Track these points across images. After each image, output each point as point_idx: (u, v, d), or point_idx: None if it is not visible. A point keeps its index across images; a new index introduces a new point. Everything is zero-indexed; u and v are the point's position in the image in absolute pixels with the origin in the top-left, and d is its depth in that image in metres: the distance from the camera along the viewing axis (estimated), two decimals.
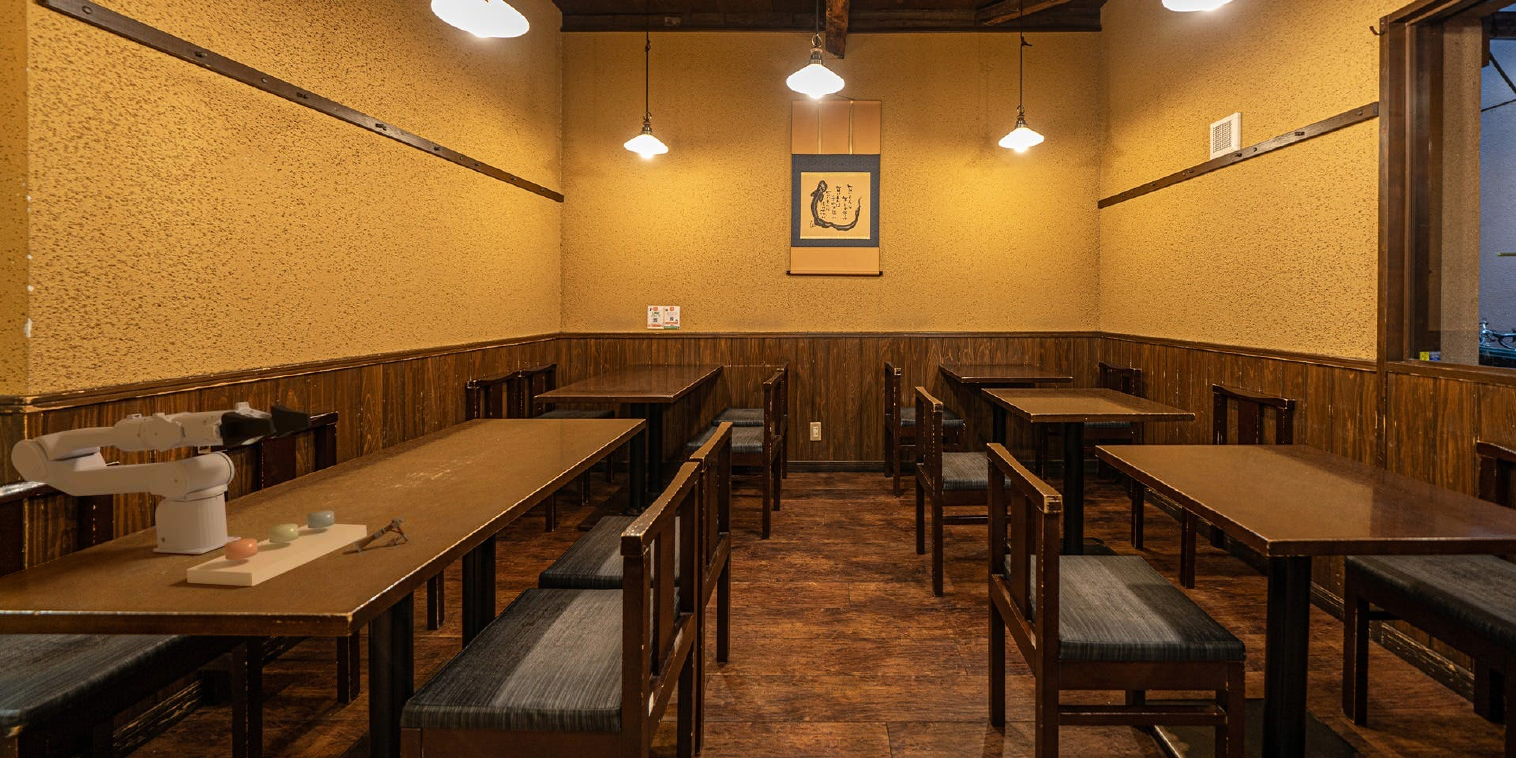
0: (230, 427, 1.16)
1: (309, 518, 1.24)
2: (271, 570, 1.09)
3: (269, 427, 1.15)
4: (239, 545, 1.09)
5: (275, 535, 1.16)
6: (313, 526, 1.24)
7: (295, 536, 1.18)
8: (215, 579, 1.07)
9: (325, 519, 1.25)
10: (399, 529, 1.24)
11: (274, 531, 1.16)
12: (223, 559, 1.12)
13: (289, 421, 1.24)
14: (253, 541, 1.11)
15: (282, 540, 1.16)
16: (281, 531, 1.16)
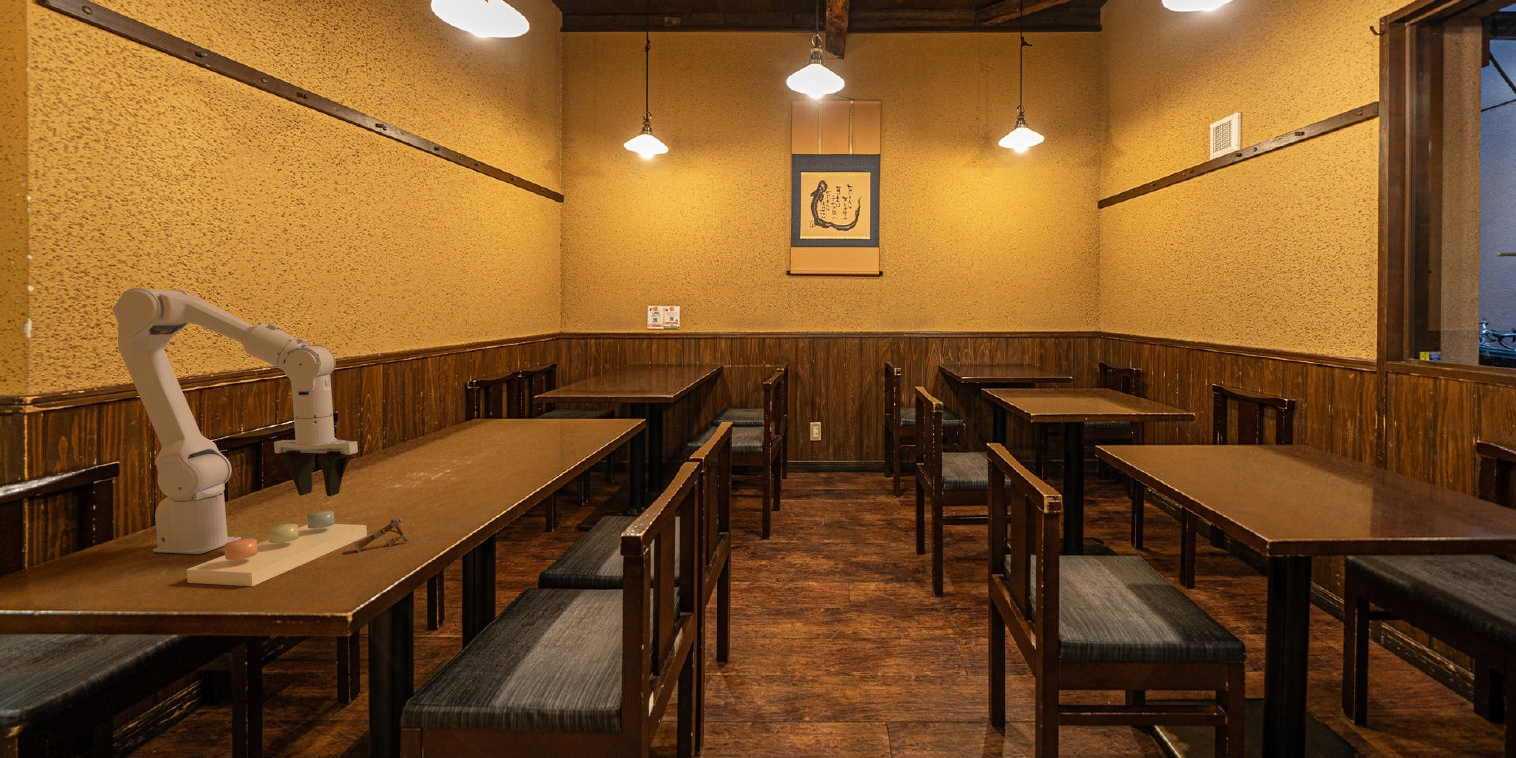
0: None
1: (309, 518, 1.24)
2: (271, 570, 1.09)
3: (334, 494, 1.25)
4: (239, 545, 1.09)
5: (275, 535, 1.16)
6: (313, 526, 1.24)
7: (295, 536, 1.18)
8: (215, 579, 1.07)
9: (325, 519, 1.25)
10: (398, 529, 1.24)
11: (274, 531, 1.16)
12: (223, 559, 1.12)
13: (304, 472, 1.26)
14: (253, 541, 1.11)
15: (282, 540, 1.16)
16: (281, 531, 1.16)
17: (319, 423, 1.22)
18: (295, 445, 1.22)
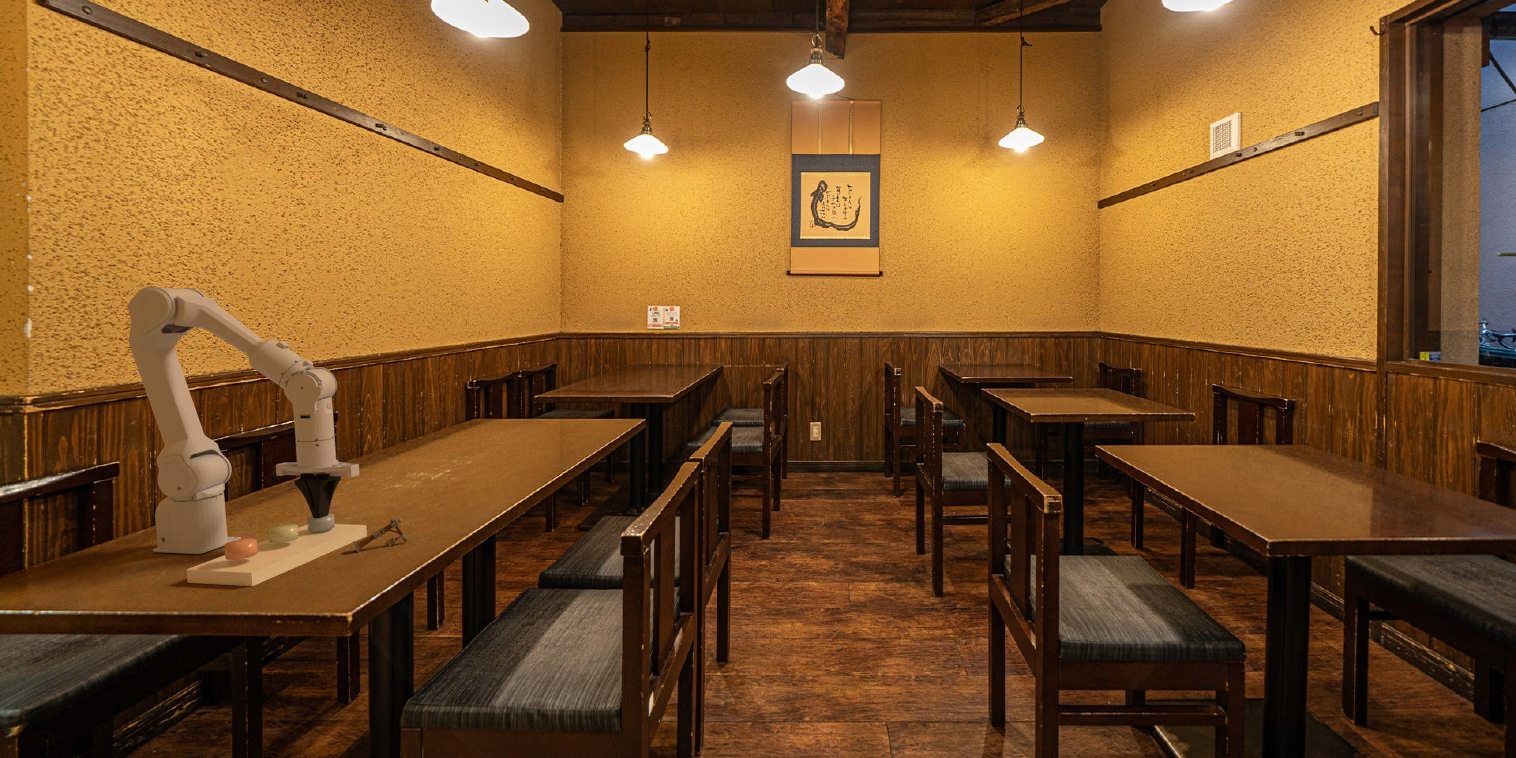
0: None
1: (309, 521, 1.24)
2: (271, 570, 1.09)
3: (324, 516, 1.26)
4: (239, 545, 1.09)
5: (275, 535, 1.16)
6: (313, 529, 1.24)
7: (295, 536, 1.18)
8: (215, 579, 1.07)
9: (325, 522, 1.25)
10: (398, 529, 1.24)
11: (274, 531, 1.16)
12: (223, 559, 1.12)
13: None
14: (253, 541, 1.11)
15: (282, 540, 1.16)
16: (281, 531, 1.16)
17: (321, 446, 1.23)
18: (297, 468, 1.23)
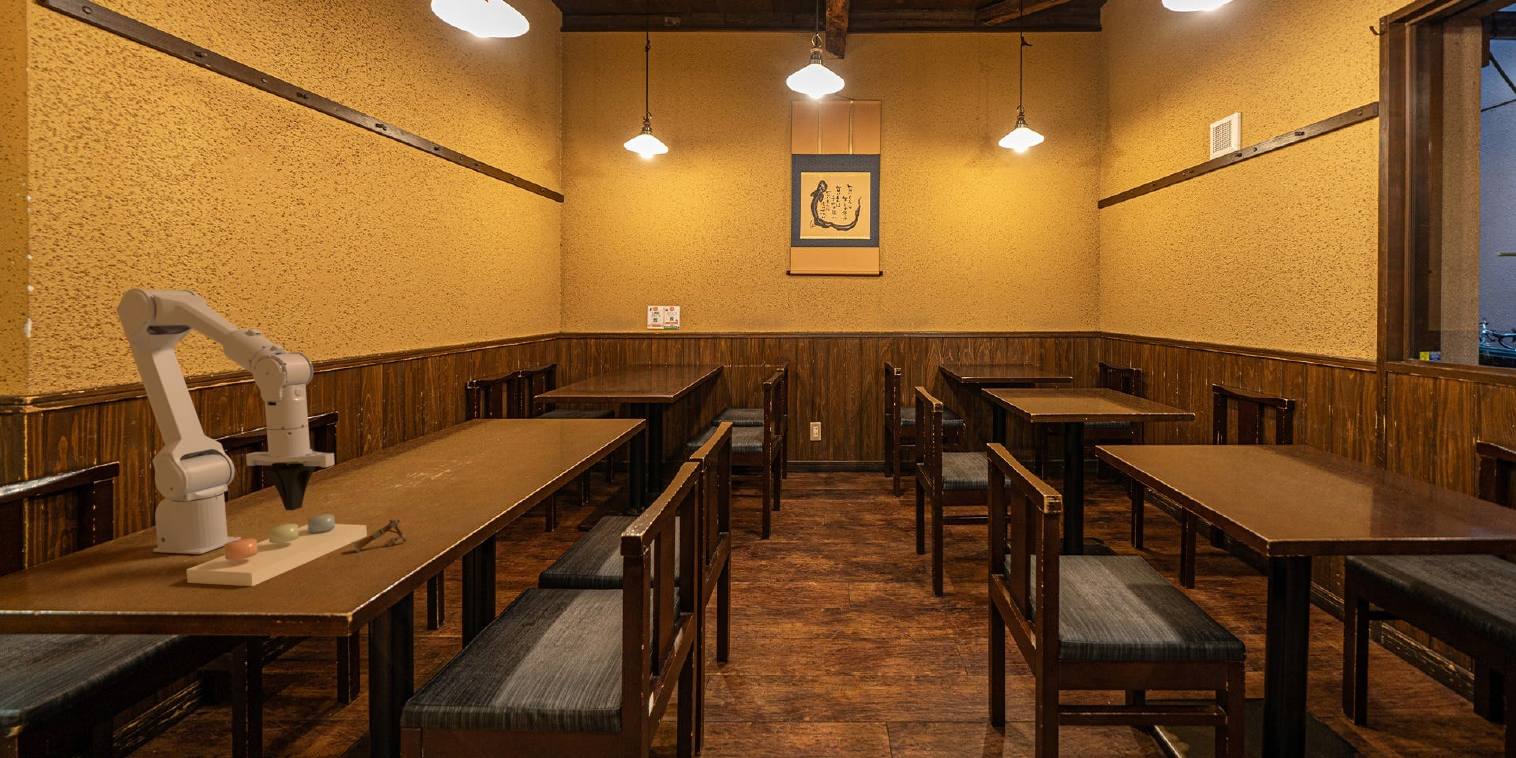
0: None
1: (309, 522, 1.24)
2: (271, 570, 1.09)
3: (297, 508, 1.20)
4: (239, 545, 1.09)
5: (275, 535, 1.16)
6: (313, 530, 1.24)
7: (295, 536, 1.18)
8: (215, 579, 1.07)
9: (325, 522, 1.25)
10: (397, 529, 1.24)
11: (274, 531, 1.16)
12: (223, 559, 1.12)
13: None
14: (253, 541, 1.11)
15: (282, 540, 1.16)
16: (281, 531, 1.16)
17: (293, 434, 1.17)
18: (268, 458, 1.17)
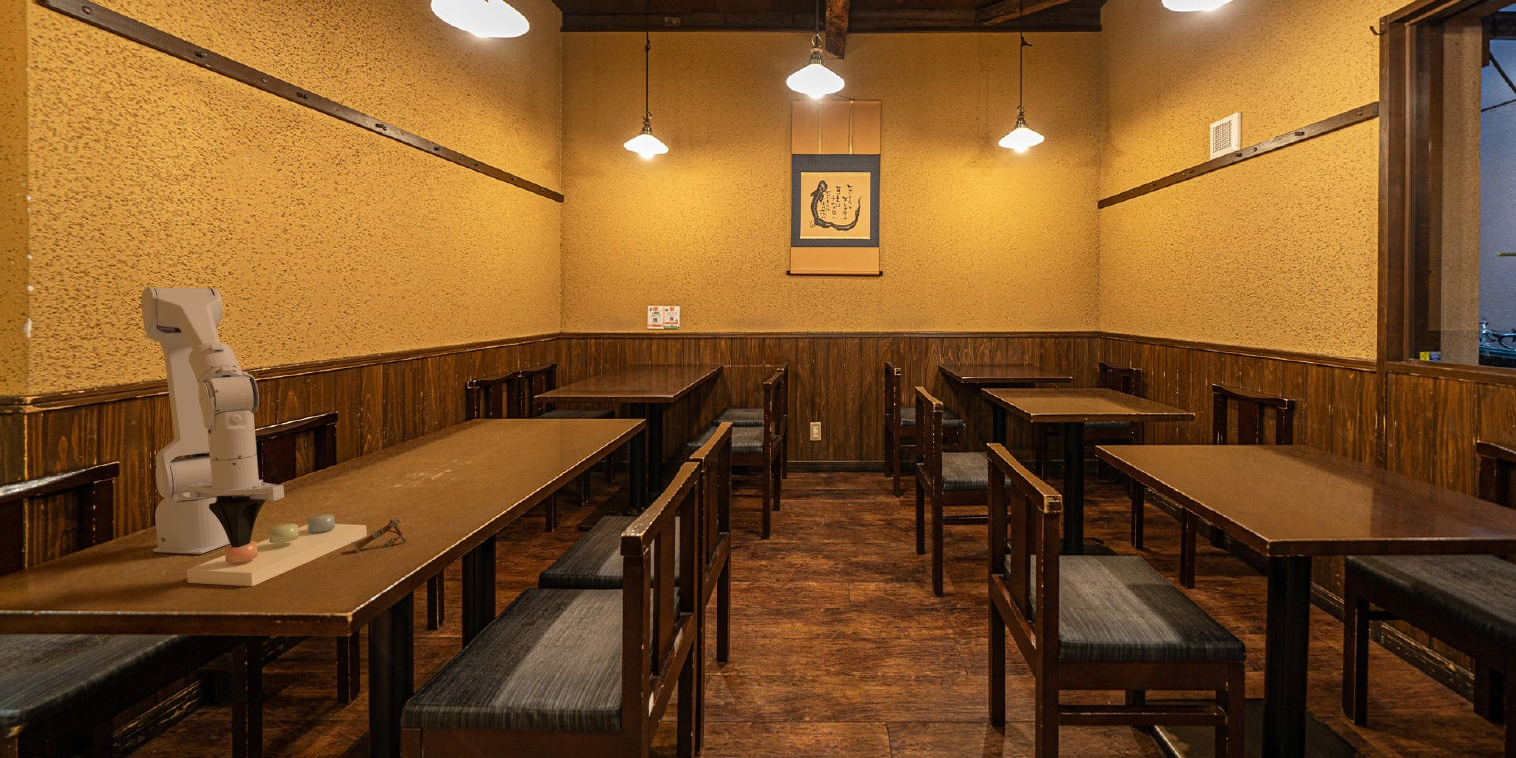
0: None
1: (309, 522, 1.24)
2: (271, 570, 1.09)
3: None
4: (239, 547, 1.09)
5: (275, 535, 1.16)
6: (313, 530, 1.24)
7: (295, 536, 1.18)
8: (215, 579, 1.07)
9: (325, 522, 1.25)
10: (397, 529, 1.24)
11: (274, 531, 1.16)
12: (223, 559, 1.12)
13: None
14: (253, 543, 1.11)
15: (282, 540, 1.16)
16: (281, 531, 1.16)
17: (238, 465, 1.07)
18: (211, 490, 1.07)
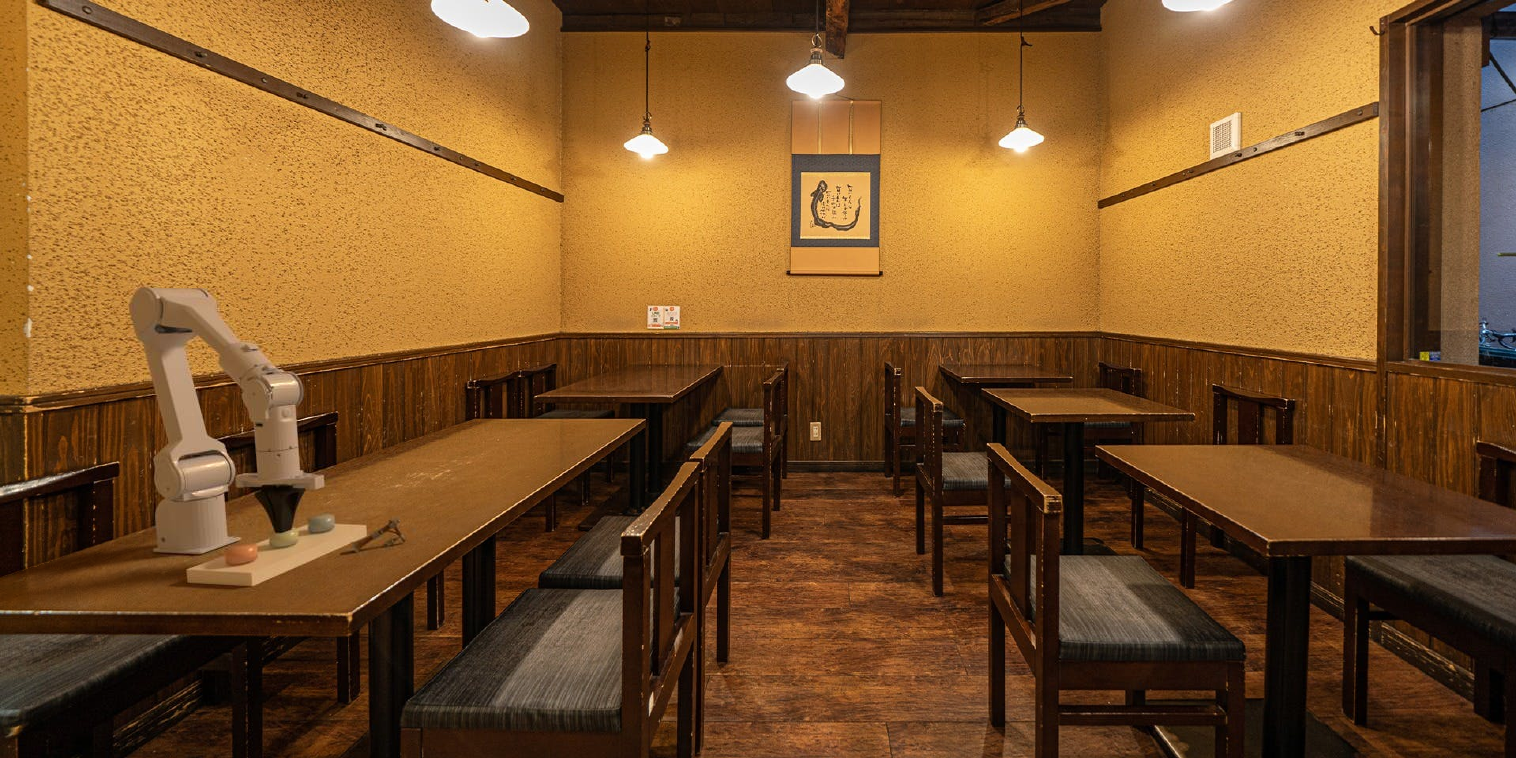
0: None
1: (309, 522, 1.24)
2: (271, 570, 1.09)
3: (286, 531, 1.18)
4: (239, 549, 1.09)
5: (276, 539, 1.16)
6: (313, 530, 1.24)
7: (295, 540, 1.18)
8: (215, 579, 1.07)
9: (325, 522, 1.25)
10: (396, 529, 1.24)
11: (274, 535, 1.16)
12: (223, 559, 1.12)
13: None
14: (253, 545, 1.11)
15: (282, 544, 1.16)
16: (281, 535, 1.16)
17: (282, 456, 1.15)
18: (257, 480, 1.15)
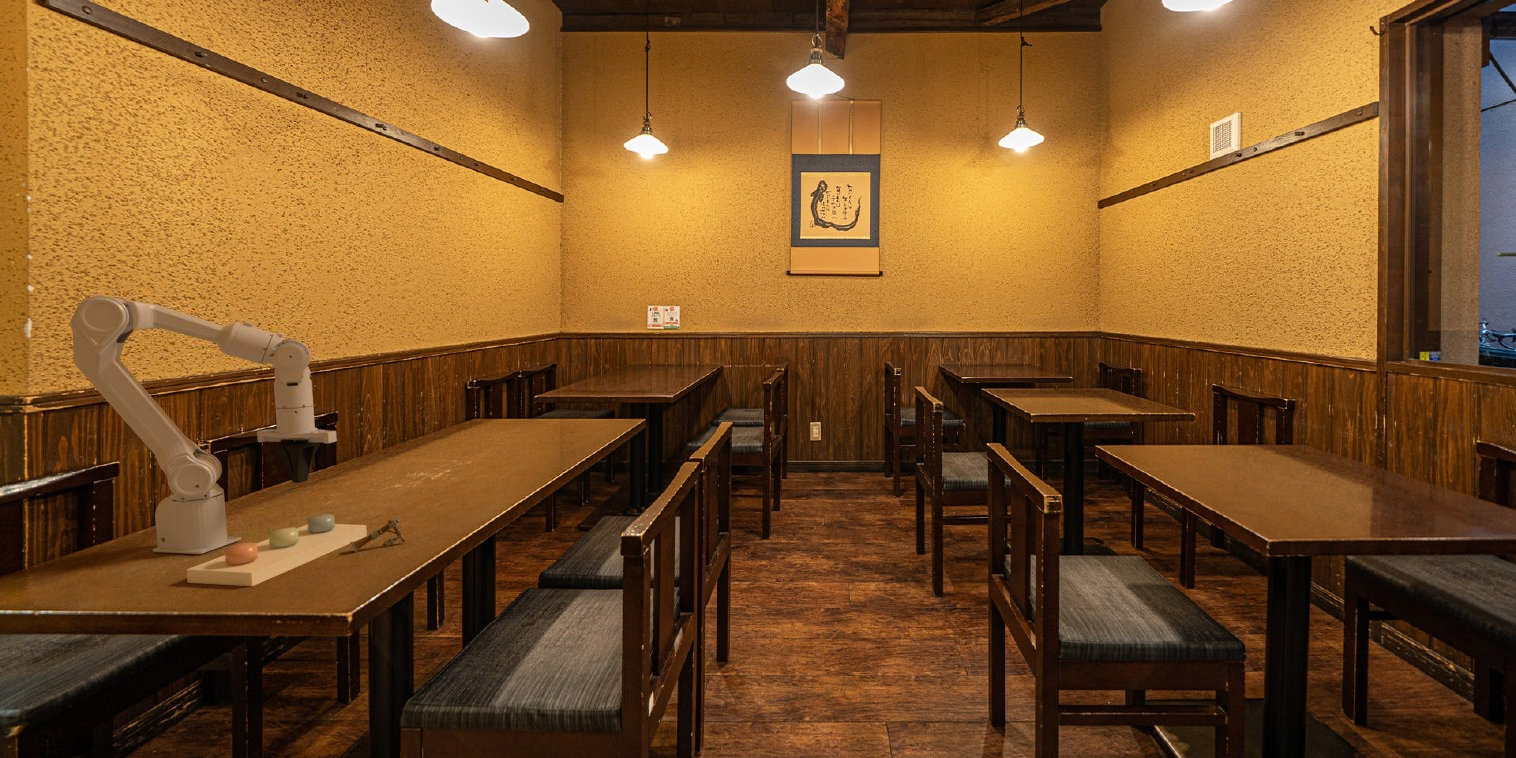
0: None
1: (309, 522, 1.24)
2: (271, 570, 1.09)
3: (303, 481, 1.31)
4: (239, 549, 1.09)
5: (276, 539, 1.16)
6: (313, 530, 1.24)
7: (295, 540, 1.18)
8: (215, 579, 1.07)
9: (325, 522, 1.25)
10: (396, 529, 1.24)
11: (274, 535, 1.16)
12: (223, 559, 1.12)
13: None
14: (253, 545, 1.11)
15: (282, 544, 1.16)
16: (281, 535, 1.16)
17: (299, 413, 1.28)
18: (276, 434, 1.28)
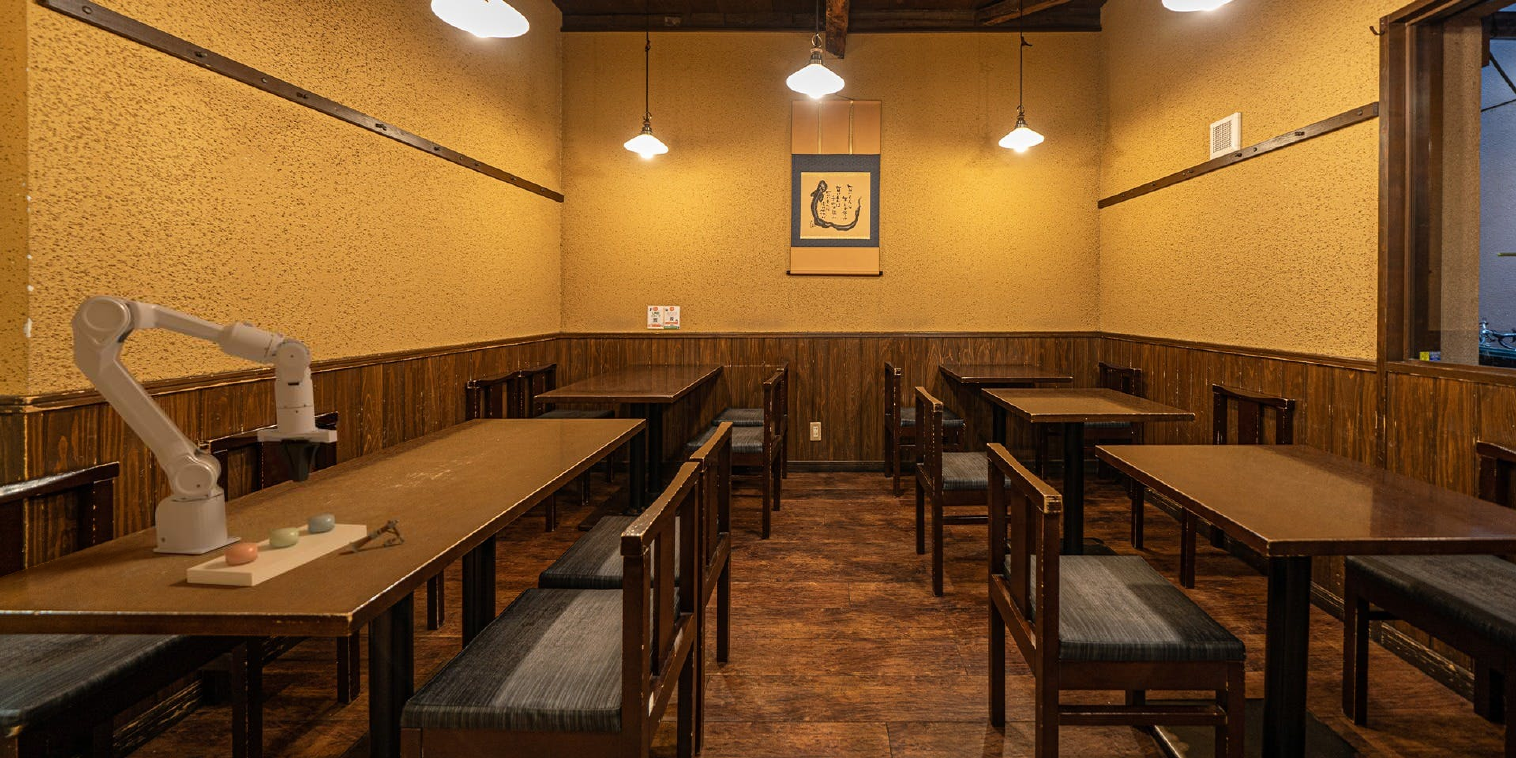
0: None
1: (309, 522, 1.24)
2: (271, 570, 1.09)
3: (303, 480, 1.31)
4: (239, 549, 1.09)
5: (276, 539, 1.16)
6: (313, 530, 1.24)
7: (295, 540, 1.18)
8: (215, 579, 1.07)
9: (325, 522, 1.25)
10: (395, 530, 1.24)
11: (274, 535, 1.16)
12: (223, 559, 1.12)
13: None
14: (253, 545, 1.11)
15: (282, 544, 1.16)
16: (281, 535, 1.16)
17: (300, 413, 1.29)
18: (277, 434, 1.28)
